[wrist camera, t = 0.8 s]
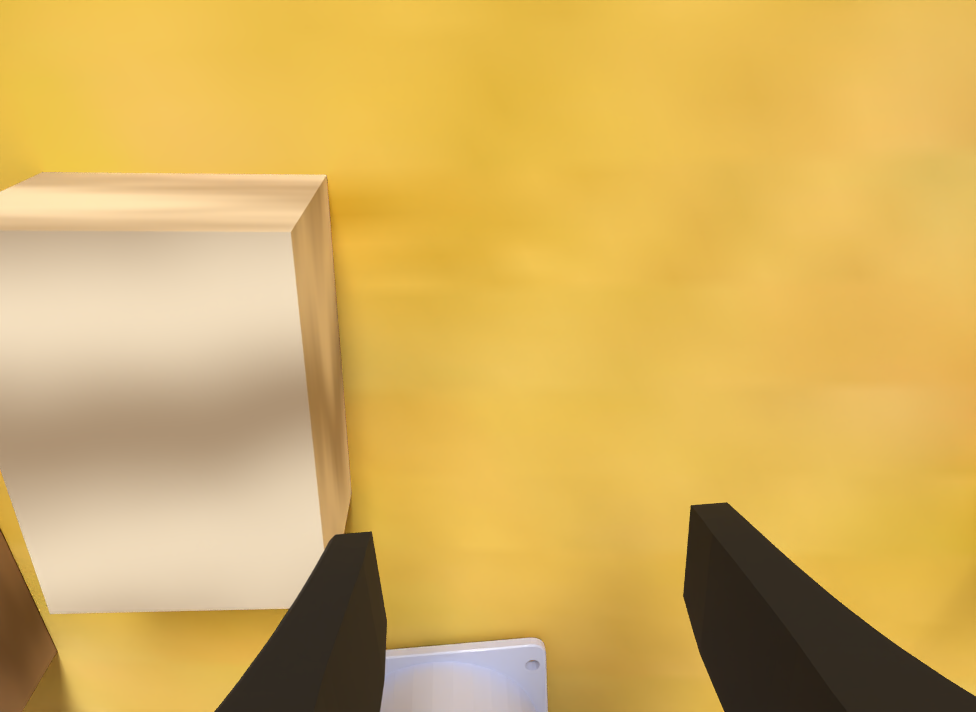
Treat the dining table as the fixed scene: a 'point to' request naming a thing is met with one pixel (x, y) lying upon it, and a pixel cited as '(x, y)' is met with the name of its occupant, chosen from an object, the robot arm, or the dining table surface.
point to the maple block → (171, 387)
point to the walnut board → (19, 637)
